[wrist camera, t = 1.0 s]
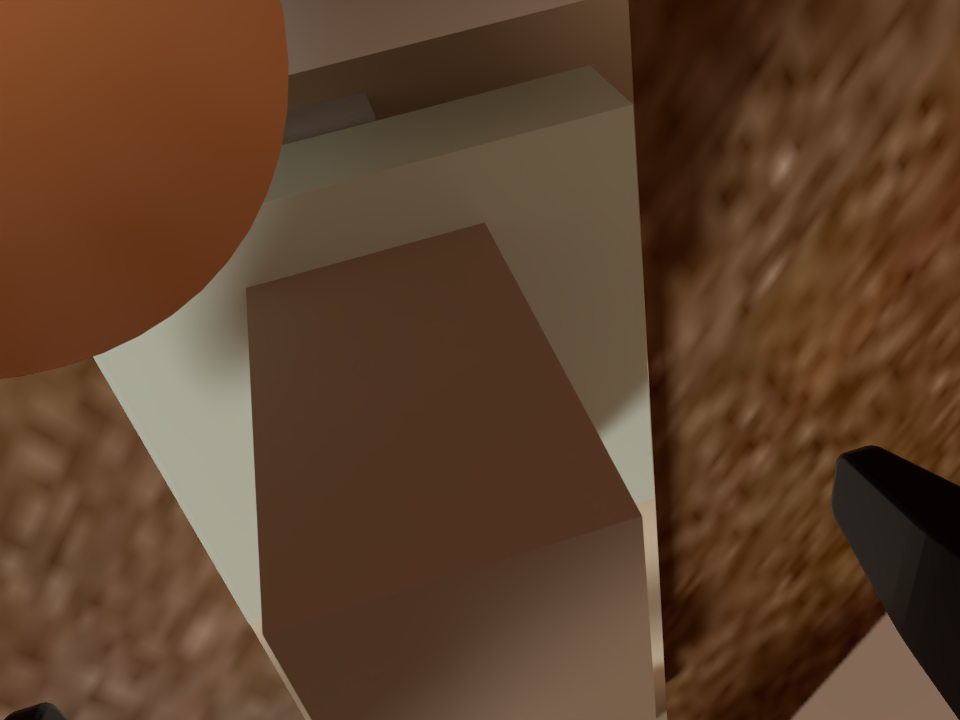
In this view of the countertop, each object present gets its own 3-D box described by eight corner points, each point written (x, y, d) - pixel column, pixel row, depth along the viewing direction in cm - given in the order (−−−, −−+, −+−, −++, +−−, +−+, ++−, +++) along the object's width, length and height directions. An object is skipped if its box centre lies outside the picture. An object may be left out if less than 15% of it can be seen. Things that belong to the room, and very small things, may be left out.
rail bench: (651, 695, 26) (747, 908, 21) (365, 790, 25) (398, 1034, 20) (563, -495, 10) (886, -705, 5) (-255, -332, 9) (-785, -399, 4)
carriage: (621, 440, 16) (816, 785, 10) (246, 554, 15) (261, 978, 10) (590, 65, 11) (897, 343, 6) (58, 203, 11) (-90, 642, 5)
